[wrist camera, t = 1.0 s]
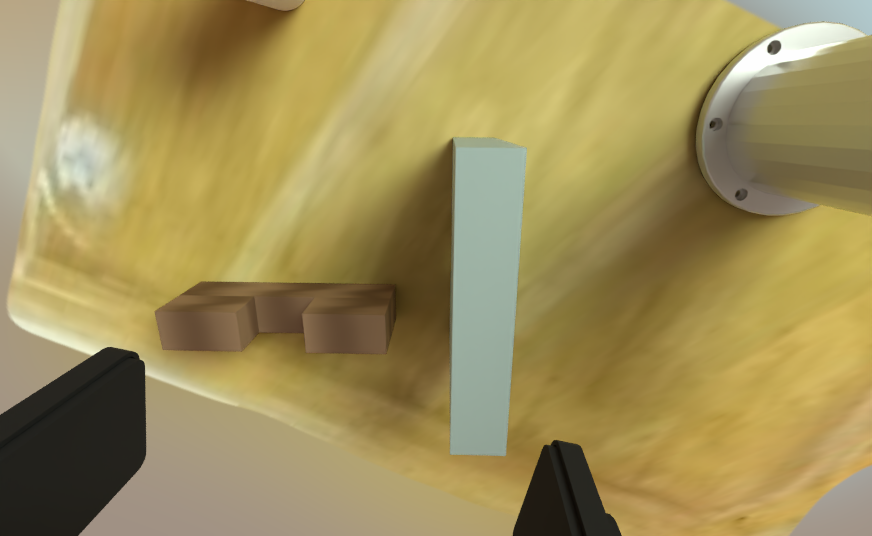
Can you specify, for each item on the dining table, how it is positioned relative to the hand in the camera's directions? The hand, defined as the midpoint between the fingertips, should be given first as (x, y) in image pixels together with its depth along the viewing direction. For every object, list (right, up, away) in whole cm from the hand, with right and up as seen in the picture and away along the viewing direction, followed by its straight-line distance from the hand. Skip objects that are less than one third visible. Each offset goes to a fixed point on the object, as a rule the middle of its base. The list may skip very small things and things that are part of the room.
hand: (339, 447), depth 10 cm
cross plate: (+5, +6, +24) cm, 25 cm away
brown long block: (-9, +1, +26) cm, 28 cm away
